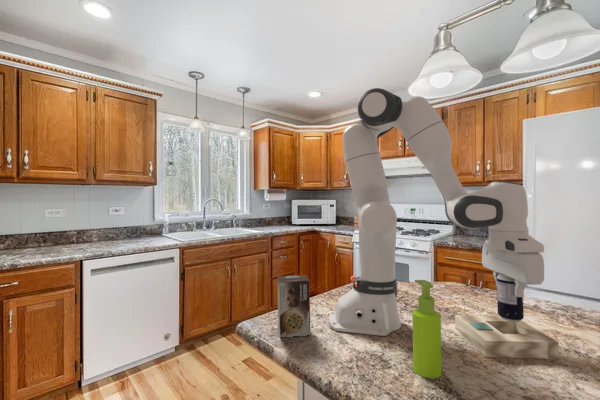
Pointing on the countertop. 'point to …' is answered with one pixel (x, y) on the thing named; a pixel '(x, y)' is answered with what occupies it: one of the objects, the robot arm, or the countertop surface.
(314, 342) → the countertop surface
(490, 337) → the socket board
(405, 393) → the countertop surface
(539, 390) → the countertop surface
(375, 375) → the countertop surface
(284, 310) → the grey cardboard box
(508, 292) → the beverage can
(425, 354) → the soap dispenser
